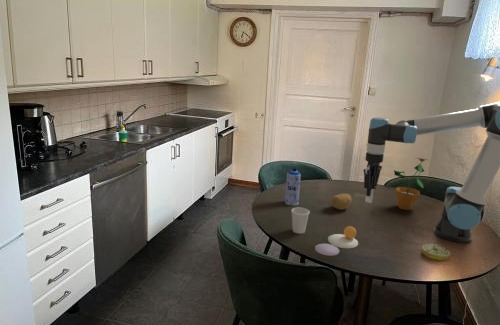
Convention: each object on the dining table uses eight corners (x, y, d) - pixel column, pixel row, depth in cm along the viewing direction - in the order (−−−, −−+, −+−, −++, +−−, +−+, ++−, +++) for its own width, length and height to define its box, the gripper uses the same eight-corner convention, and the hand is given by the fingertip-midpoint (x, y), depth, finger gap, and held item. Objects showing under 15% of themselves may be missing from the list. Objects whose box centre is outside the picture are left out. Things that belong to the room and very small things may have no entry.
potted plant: (430, 211, 201) (440, 158, 193) (403, 215, 194) (412, 160, 186) (406, 200, 217) (414, 150, 209) (380, 203, 210) (387, 151, 202)
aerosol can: (283, 204, 202) (285, 168, 197) (286, 199, 210) (288, 165, 204) (297, 206, 200) (300, 170, 195) (300, 201, 207) (302, 167, 202)
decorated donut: (447, 253, 156) (449, 245, 155) (450, 265, 147) (452, 256, 146) (420, 247, 160) (422, 239, 159) (421, 259, 150) (423, 250, 149)
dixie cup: (310, 229, 172) (312, 209, 170) (303, 236, 165) (305, 215, 163) (294, 225, 176) (295, 205, 174) (286, 231, 169) (288, 211, 167)
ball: (356, 240, 165) (359, 228, 165) (351, 239, 161) (354, 227, 161) (345, 237, 168) (348, 225, 169) (340, 236, 164) (343, 224, 165)
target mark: (363, 242, 162) (363, 241, 162) (347, 251, 153) (347, 251, 153) (338, 231, 171) (338, 231, 171) (321, 240, 162) (321, 239, 162)
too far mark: (344, 250, 154) (344, 250, 154) (330, 258, 147) (330, 257, 147) (324, 241, 161) (324, 241, 161) (310, 248, 154) (310, 248, 154)
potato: (355, 207, 201) (357, 194, 199) (341, 214, 192) (343, 200, 190) (340, 202, 208) (341, 189, 206) (325, 208, 198) (327, 194, 196)
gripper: (374, 149, 173) (368, 196, 179) (359, 153, 164) (353, 202, 170) (389, 152, 167) (382, 201, 174) (375, 156, 159) (368, 207, 165)
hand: (368, 202), depth 172 cm, fingers closed
